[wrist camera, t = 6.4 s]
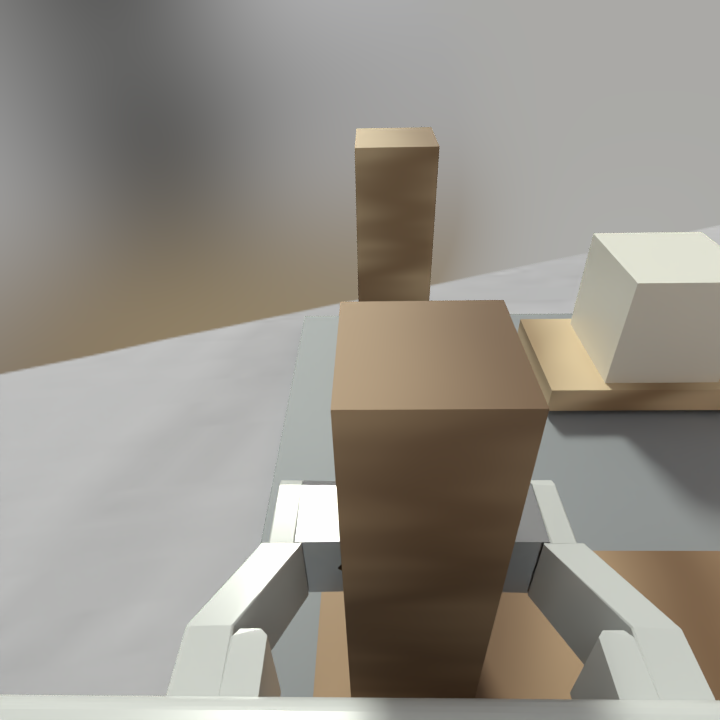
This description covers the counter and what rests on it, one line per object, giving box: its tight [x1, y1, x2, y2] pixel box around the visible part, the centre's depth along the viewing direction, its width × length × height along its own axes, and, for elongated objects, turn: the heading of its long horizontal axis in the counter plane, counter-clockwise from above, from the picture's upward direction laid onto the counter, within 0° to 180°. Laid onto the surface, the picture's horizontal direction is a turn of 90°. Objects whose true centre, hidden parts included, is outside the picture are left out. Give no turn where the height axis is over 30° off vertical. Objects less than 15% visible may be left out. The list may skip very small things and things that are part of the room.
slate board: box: [261, 314, 720, 697], centre depth 21 cm, size 23×26×1 cm
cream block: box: [570, 232, 720, 383], centre depth 24 cm, size 5×5×5 cm
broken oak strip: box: [355, 127, 720, 411], centre depth 23 cm, size 18×6×11 cm, turn 89°
